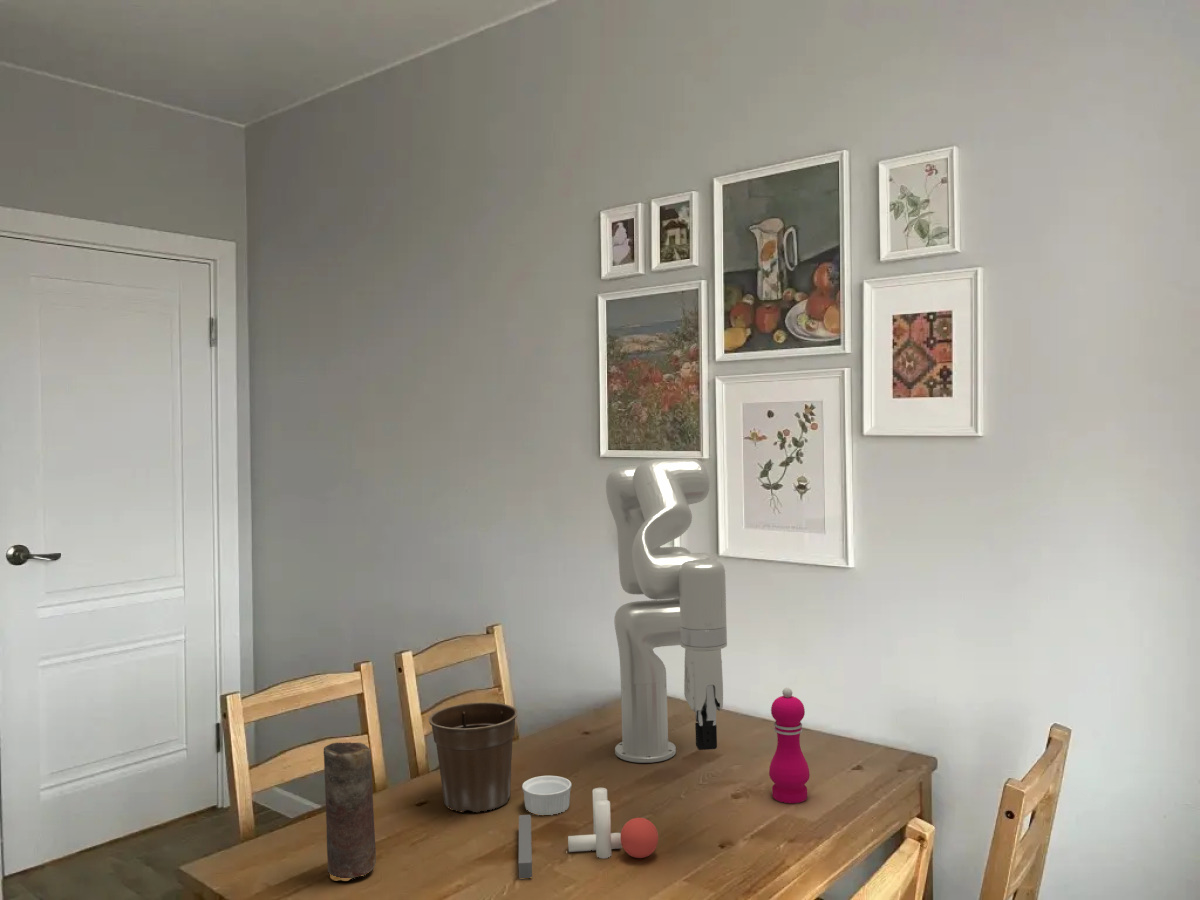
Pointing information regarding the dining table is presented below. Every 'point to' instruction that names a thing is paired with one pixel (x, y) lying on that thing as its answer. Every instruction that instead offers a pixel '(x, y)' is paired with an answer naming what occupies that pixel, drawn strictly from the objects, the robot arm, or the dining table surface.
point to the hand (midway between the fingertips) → (706, 747)
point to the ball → (639, 837)
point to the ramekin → (546, 794)
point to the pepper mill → (788, 750)
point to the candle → (349, 809)
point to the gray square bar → (525, 847)
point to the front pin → (591, 842)
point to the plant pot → (475, 754)
